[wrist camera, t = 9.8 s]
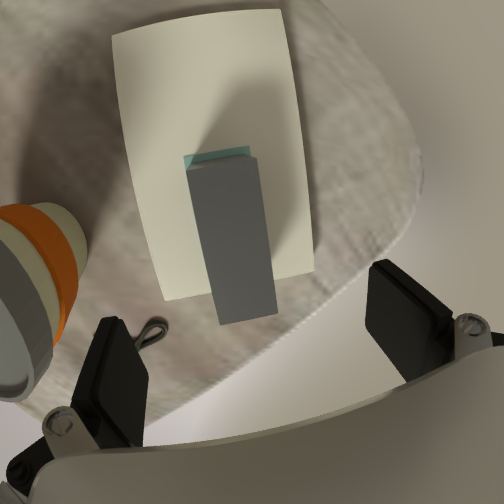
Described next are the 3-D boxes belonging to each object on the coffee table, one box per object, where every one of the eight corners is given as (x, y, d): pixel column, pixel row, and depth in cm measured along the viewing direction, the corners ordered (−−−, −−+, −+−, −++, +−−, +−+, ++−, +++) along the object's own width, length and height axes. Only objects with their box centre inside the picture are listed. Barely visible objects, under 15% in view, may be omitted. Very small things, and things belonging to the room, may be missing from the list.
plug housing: (190, 163, 22) (185, 171, 16) (243, 153, 22) (256, 158, 17) (215, 286, 26) (220, 325, 21) (262, 276, 26) (278, 313, 21)
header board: (117, 42, 19) (100, 24, 14) (275, 17, 20) (290, -6, 15) (167, 290, 28) (161, 319, 23) (307, 262, 29) (326, 286, 24)
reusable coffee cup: (-11, 223, 22) (-102, 284, 8) (64, 157, 22) (-51, 189, 8) (46, 316, 27) (-11, 412, 13) (128, 272, 26) (78, 388, 13)
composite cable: (160, 313, 29) (158, 327, 27) (182, 346, 31) (181, 361, 29) (89, 340, 29) (84, 353, 27) (112, 368, 31) (108, 382, 29)
